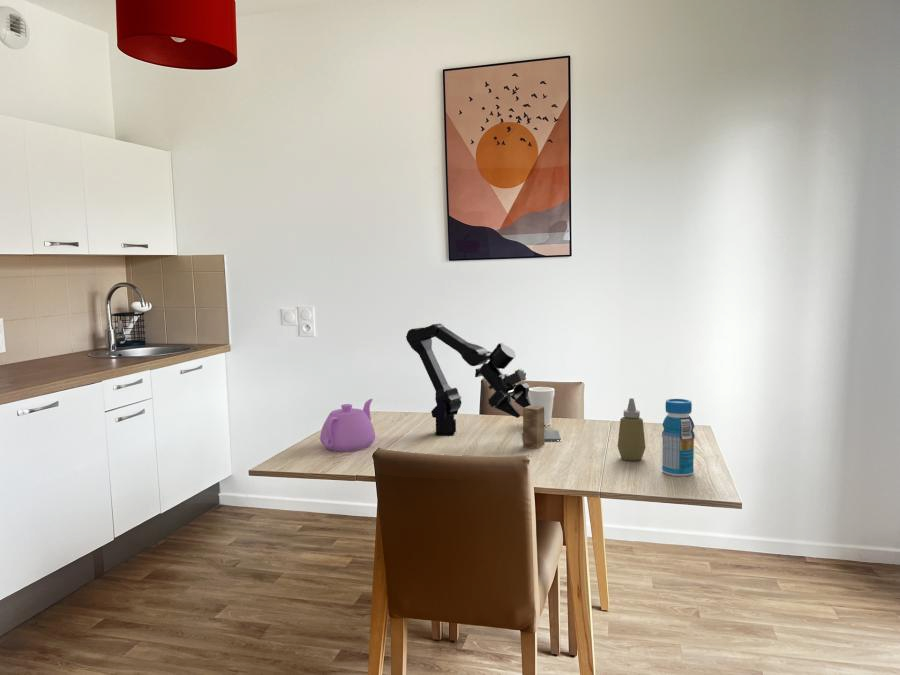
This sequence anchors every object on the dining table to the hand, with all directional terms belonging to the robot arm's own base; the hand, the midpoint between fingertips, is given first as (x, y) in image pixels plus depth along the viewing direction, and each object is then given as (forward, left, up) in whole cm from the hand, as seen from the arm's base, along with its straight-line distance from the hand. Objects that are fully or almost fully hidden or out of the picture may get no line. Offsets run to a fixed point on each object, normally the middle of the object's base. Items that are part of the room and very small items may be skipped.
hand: (525, 414), depth 221 cm
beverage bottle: (+40, -30, -10) cm, 52 cm away
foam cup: (+6, +30, -10) cm, 32 cm away
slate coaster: (+5, +11, -10) cm, 16 cm away
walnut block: (+2, -1, -10) cm, 10 cm away
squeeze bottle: (+30, -16, -10) cm, 36 cm away
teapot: (-58, 0, -10) cm, 58 cm away
